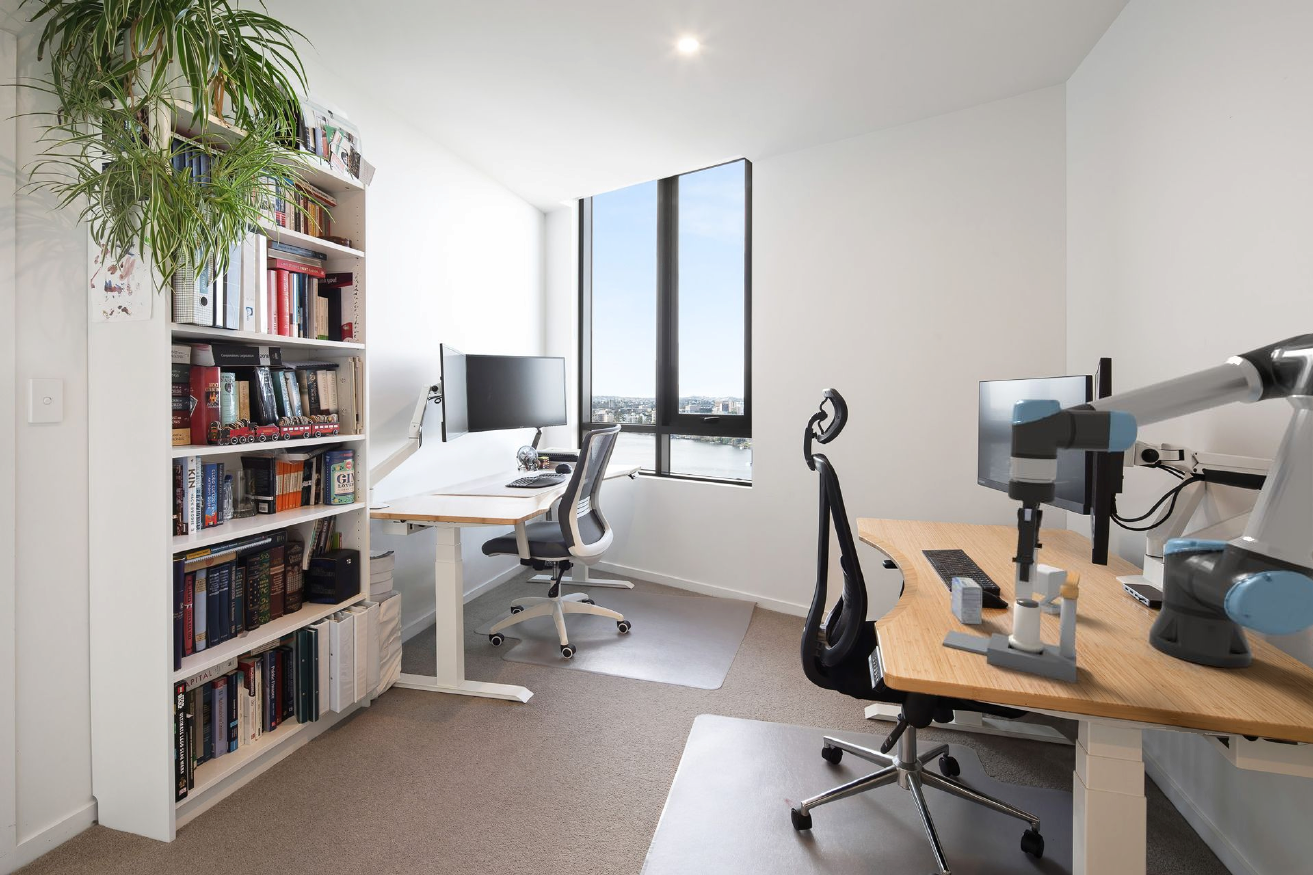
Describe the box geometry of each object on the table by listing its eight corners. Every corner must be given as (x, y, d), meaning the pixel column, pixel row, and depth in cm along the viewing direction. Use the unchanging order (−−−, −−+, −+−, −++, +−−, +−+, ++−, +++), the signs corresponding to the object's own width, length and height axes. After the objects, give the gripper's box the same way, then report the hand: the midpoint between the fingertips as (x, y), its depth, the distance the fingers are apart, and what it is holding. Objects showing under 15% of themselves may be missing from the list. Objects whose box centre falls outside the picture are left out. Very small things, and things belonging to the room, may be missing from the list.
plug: (1043, 660, 113) (1046, 600, 113) (1042, 671, 109) (1044, 608, 108) (1009, 652, 117) (1011, 594, 116) (1006, 663, 112) (1008, 602, 111)
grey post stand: (1075, 665, 111) (1078, 593, 110) (1075, 683, 104) (1078, 607, 103) (992, 647, 120) (994, 580, 119) (986, 662, 112) (989, 592, 111)
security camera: (1042, 602, 147) (1043, 563, 146) (1069, 611, 140) (1071, 571, 139) (1023, 605, 145) (1025, 565, 144) (1050, 614, 138) (1052, 573, 137)
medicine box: (982, 625, 131) (983, 587, 131) (960, 623, 132) (962, 586, 132) (970, 612, 139) (971, 577, 139) (950, 611, 140) (951, 576, 140)
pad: (991, 641, 122) (991, 638, 122) (986, 654, 116) (986, 652, 116) (949, 632, 127) (949, 630, 127) (942, 645, 120) (942, 642, 120)
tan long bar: (1077, 608, 106) (1078, 590, 106) (1059, 605, 108) (1059, 587, 108) (1082, 589, 117) (1082, 572, 117) (1065, 586, 119) (1066, 569, 119)
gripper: (1014, 472, 123) (1009, 570, 124) (1002, 484, 103) (996, 601, 104) (1057, 475, 119) (1051, 576, 120) (1053, 489, 98) (1046, 610, 100)
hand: (1025, 588), depth 112 cm, fingers open, 13 cm apart
